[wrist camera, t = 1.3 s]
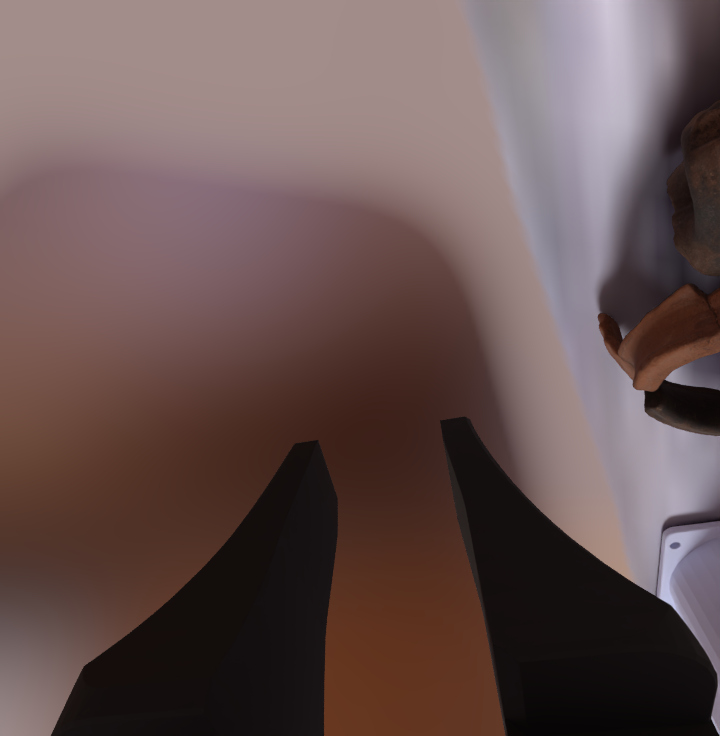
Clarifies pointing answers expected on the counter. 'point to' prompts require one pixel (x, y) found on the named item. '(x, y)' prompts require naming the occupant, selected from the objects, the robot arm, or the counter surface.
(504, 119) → the counter surface
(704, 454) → the counter surface
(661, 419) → the pottery mug
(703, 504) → the counter surface
